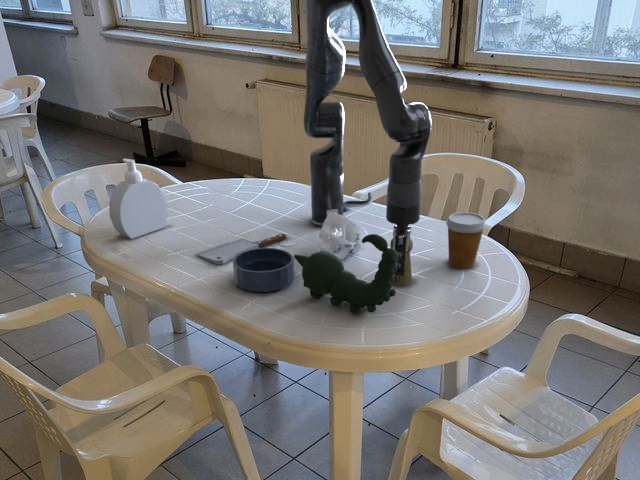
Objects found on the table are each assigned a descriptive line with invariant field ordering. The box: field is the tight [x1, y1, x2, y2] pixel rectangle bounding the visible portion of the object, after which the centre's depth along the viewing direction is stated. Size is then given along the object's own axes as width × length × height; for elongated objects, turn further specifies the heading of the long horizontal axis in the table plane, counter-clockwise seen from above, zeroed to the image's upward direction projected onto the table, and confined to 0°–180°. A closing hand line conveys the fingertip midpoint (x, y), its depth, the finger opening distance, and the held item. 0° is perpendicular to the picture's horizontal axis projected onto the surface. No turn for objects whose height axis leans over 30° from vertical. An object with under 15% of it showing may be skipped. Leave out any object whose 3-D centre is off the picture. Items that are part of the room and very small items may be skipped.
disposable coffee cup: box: [445, 211, 487, 270], centre depth 152 cm, size 10×10×12 cm
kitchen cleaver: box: [196, 233, 287, 265], centre depth 164 cm, size 24×1×10 cm
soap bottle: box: [108, 158, 169, 240], centre depth 170 cm, size 16×5×20 cm, turn 141°
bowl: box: [232, 247, 296, 293], centre depth 146 cm, size 14×14×6 cm
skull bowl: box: [317, 212, 369, 261], centre depth 160 cm, size 10×14×12 cm
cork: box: [389, 237, 414, 288], centre depth 144 cm, size 6×6×11 cm
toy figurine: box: [293, 233, 401, 314], centre depth 133 cm, size 9×19×25 cm
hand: (400, 267), depth 145 cm, fingers open, 8 cm apart
